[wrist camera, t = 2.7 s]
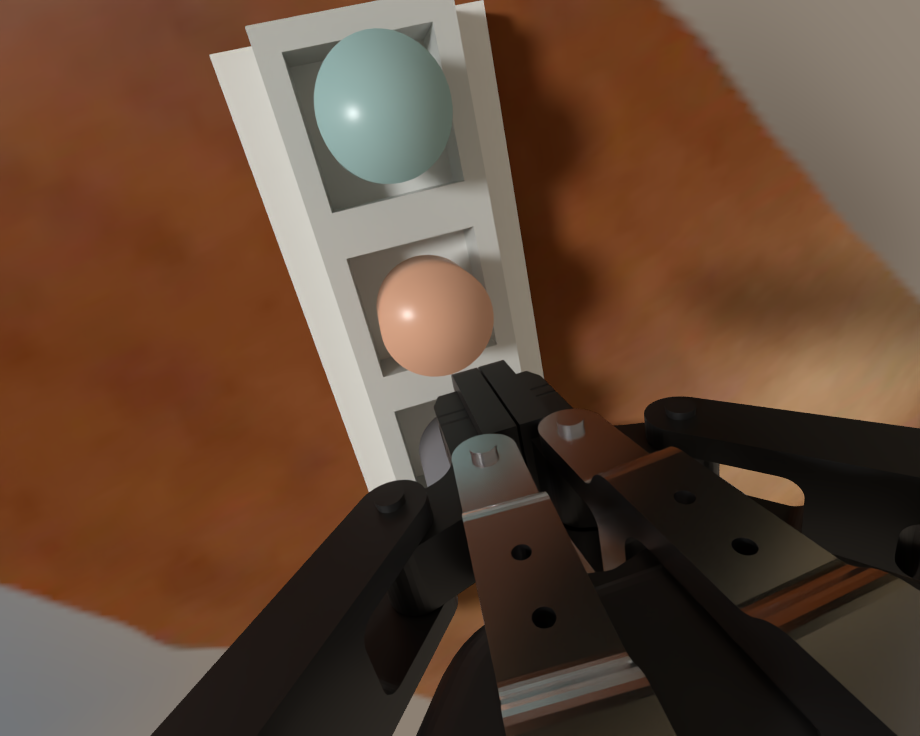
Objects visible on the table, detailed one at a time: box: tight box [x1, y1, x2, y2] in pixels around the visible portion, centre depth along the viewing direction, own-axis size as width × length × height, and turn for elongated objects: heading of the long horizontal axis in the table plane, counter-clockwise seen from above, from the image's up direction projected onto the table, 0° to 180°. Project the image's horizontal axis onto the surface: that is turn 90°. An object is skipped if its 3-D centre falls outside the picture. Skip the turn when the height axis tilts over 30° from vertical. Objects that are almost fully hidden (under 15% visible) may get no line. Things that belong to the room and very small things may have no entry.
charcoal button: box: [419, 417, 450, 487], centre depth 24 cm, size 5×5×3 cm
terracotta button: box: [376, 255, 494, 377], centre depth 21 cm, size 5×5×3 cm
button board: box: [210, 0, 544, 492], centre depth 25 cm, size 24×12×4 cm, turn 12°
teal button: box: [314, 28, 453, 184], centre depth 18 cm, size 5×5×3 cm
